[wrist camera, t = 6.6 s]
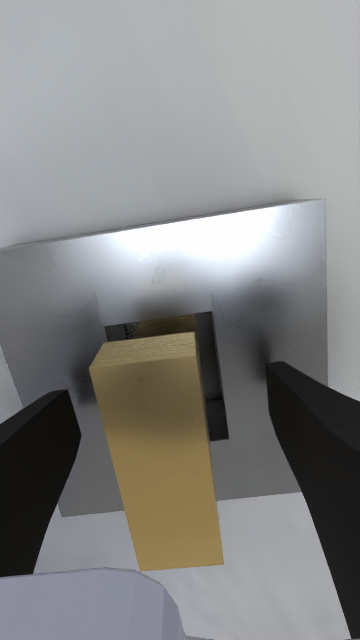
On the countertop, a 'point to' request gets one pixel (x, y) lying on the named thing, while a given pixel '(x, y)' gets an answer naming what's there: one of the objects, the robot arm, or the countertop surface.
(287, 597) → the countertop surface
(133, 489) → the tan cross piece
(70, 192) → the countertop surface
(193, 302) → the metal plate with slot
